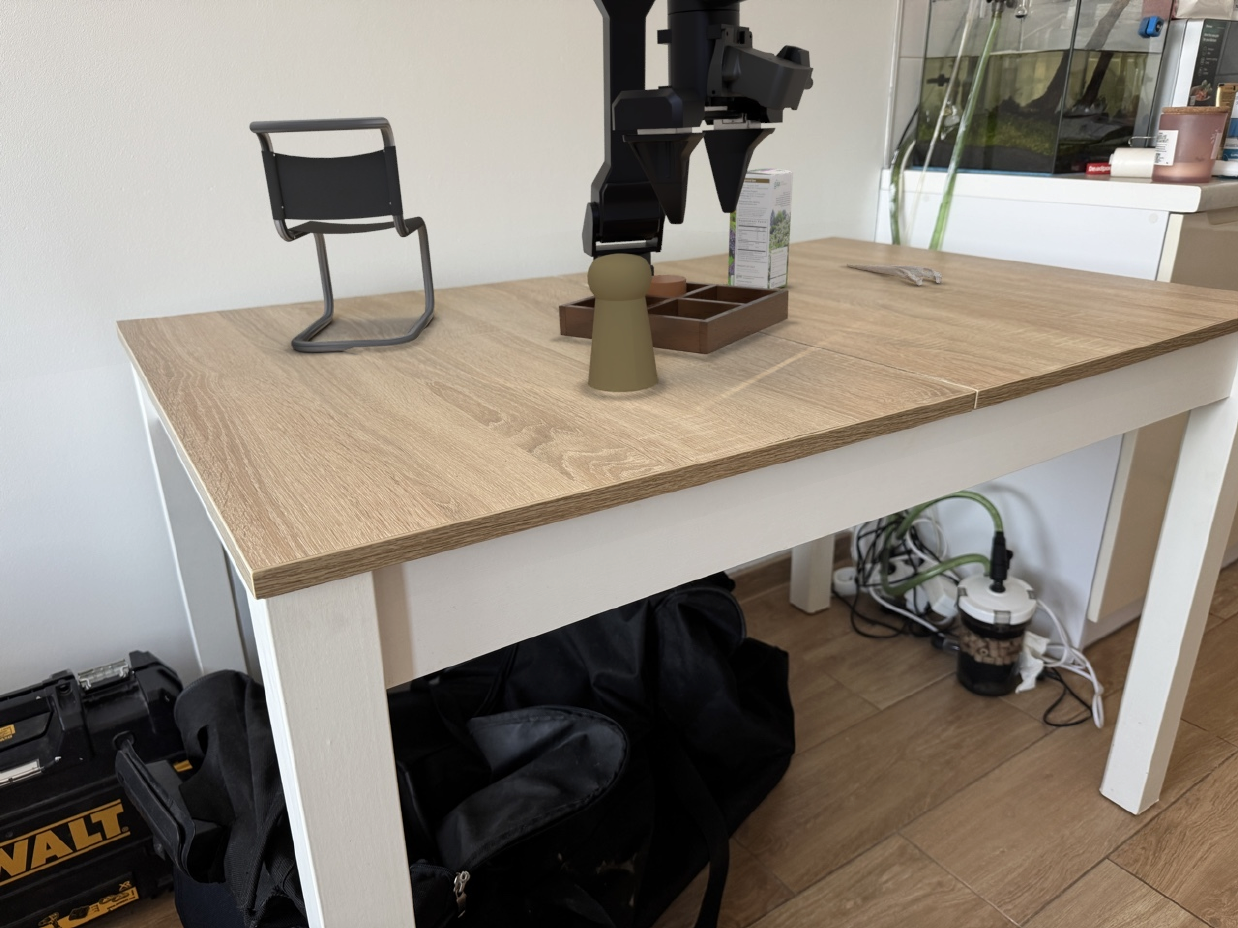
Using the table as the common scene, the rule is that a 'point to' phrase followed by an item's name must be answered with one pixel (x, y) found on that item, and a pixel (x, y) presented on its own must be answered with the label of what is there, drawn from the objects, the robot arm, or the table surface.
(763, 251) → the syrup box
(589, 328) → the tray
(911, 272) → the grey long forked piece
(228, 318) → the table surface
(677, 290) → the tin
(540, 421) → the table surface
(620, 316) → the olive peg figure
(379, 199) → the chair
